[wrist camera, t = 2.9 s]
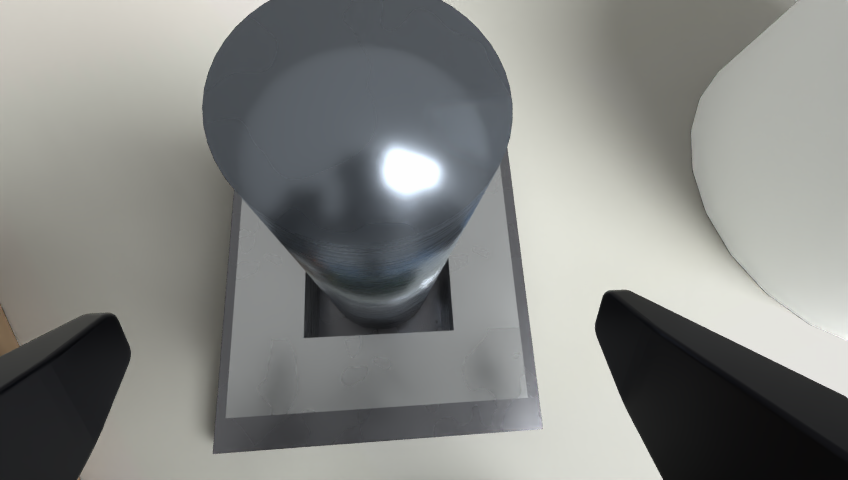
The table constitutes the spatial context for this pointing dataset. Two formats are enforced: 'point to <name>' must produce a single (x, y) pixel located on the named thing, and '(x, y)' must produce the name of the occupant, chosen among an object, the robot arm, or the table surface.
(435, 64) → the metal rod
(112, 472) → the table surface
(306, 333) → the socket stand
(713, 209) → the stepped white column
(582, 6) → the table surface
